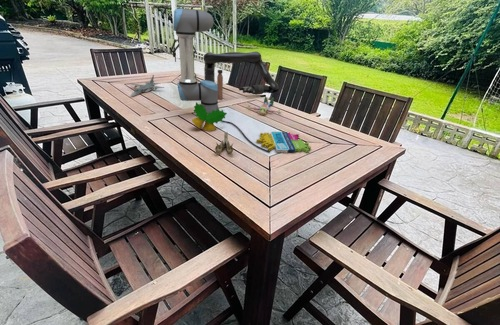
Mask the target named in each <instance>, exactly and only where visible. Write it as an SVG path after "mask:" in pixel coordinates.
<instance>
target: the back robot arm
mask: <svg viewBox="0 0 500 325" xmlns="http://www.w3.org/2000/svg"><path fill="white" fill-rule="evenodd" d="M202 59H203V61H204V68H203V69H204V80H207V81H212V82H215V80H216V79H215V69H216V64H220V63H221V64H240V63H245V62H246V63H254V65H255V66H256V67H257V69H258V71H259V73H260V74H261V77H262V78H263V80H264V82H265V84H253V85H252V86H249V85H248V86H242V87H238V91H242V94H246V93H247V94H253V95H260V94H274V93H276V92H278V91H279V89H280V88H279V84H278V83H277V82H276V81H275V80H274V79H273V77H272V75H271V73H270V72H269V70H268V69H267V67H266V65H265V64H264V62H263V59H262V54H261V53H260V51H250V52H240V51H227V52H222V53H213V52H211V51H208V52H206V53H205V54H204V55H203V58H202ZM194 75H195V79H196V80H197V82H200V81H201V80H200V79H198V78H197V74H196V73H195V72H194ZM215 83H216V82H215Z"/></svg>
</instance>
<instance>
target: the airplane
mask: <svg viewBox="0 0 500 325" xmlns="http://www.w3.org/2000/svg"><path fill="white" fill-rule="evenodd" d="M154 76H155V75H154V74H152V77H151V78H150V80H149V81H144V83H145V84H137V83H130V85H131V86H133V89H135V90H134V91H133V92H132V93H131V94H130V97H135V96H137V95H139V94H141V93H148V92H150V91H151V90H153V91H157V90H158V88H159V89H162V88H163V89H165V86H156V85H161V82H160V83H159V82H158V83H157V82H155V81H154V78H155V77H154Z"/></svg>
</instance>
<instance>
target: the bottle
mask: <svg viewBox="0 0 500 325" xmlns="http://www.w3.org/2000/svg"><path fill="white" fill-rule="evenodd" d="M216 84H217V86H218V100H223V96H224V95H223V92H224V88H223V86H224V85H223V84H224V77H223V72H222V73H218V72H217V76H216Z"/></svg>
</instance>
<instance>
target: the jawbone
mask: <svg viewBox="0 0 500 325" xmlns="http://www.w3.org/2000/svg"><path fill="white" fill-rule="evenodd" d="M223 135H224V136H223V140H222V139H221V142H220V144H218V142H215V144H216V146H215V148H214V149H215V152H214V154H215V155H217V156H218V155H220V153H221V152H223V151H224V150H226V152H227V153H228V155H229V156H233V155H234V154H233V153H234V148H233V144H234V143H230V140H228V139H229V138H228V137H229V136H228V135H229V133H228V131H226V132H224V134H223Z"/></svg>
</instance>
